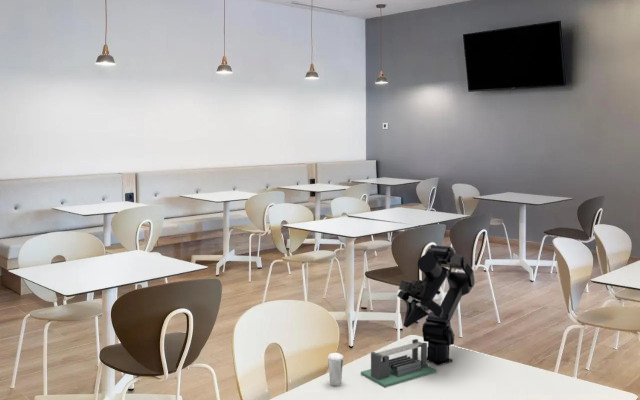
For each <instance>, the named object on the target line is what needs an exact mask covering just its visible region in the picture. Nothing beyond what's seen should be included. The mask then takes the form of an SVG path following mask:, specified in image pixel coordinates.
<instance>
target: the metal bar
mask: <svg viewBox="0 0 640 400" xmlns="http://www.w3.org/2000/svg"><path fill="white" fill-rule="evenodd" d="M422 343H423V342H420V341H419V340H418V341H416V343H408V344H404V345H401V346H397V347H394V348H390V349H386V350H383V351H378V352H376V353H377V354H379V355H381V362H383V357H385V356H391V355H395V354H400V353H402V352H407V351H410V350H412V349H414V348H418V349H419V348H421V344H422Z"/></svg>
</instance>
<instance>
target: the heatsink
mask: <svg viewBox="0 0 640 400" xmlns="http://www.w3.org/2000/svg"><path fill="white" fill-rule="evenodd" d="M410 358H411V359H410ZM418 371H421V365H420V361H418V362H417V360H414V358H412V357H411V356H408V355H407V354H405V355H402V356H398V357H395V358H389V373H390V374H392V375H394V376H396V377H401V376H405V375H408V374H411V373H415V372H418Z"/></svg>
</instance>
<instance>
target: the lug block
mask: <svg viewBox="0 0 640 400" xmlns="http://www.w3.org/2000/svg"><path fill="white" fill-rule="evenodd" d="M377 353H378V352H375V351H372V352H370V369H371V376H372V377H374V378H376V379H378V380H380V379H384V378H387V377H389V360H390V355H388V356H385V357H383V362H381V355H379V354H377Z"/></svg>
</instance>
